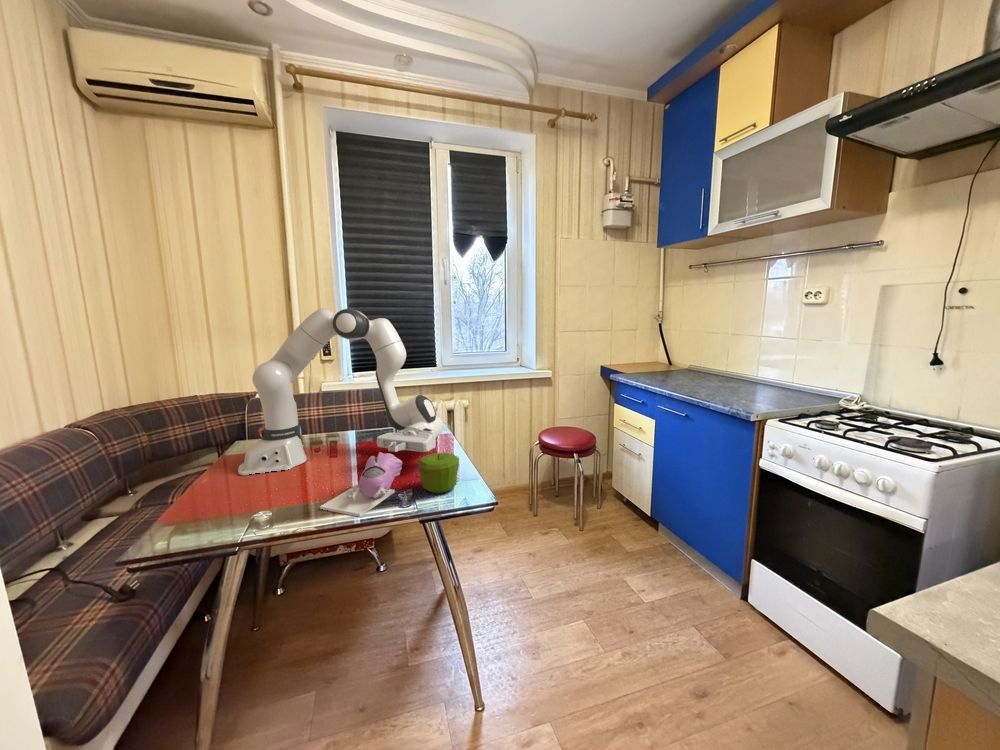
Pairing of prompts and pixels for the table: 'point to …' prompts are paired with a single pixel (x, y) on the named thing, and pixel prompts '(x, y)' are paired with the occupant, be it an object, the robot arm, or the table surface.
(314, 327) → the robot arm
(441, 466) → the apple
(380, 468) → the toy character
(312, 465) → the table surface
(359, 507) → the mat
